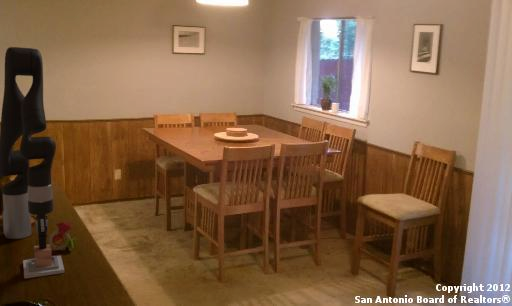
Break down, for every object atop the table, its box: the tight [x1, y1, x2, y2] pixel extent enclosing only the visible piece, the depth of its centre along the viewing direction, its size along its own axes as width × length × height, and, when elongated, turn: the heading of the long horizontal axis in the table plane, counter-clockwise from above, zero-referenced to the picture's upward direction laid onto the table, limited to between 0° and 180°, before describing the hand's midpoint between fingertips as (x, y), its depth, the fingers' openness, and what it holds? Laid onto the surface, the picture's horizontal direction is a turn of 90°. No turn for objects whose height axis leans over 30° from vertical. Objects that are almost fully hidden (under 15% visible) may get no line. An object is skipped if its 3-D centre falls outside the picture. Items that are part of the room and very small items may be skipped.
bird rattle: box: [48, 221, 78, 252], centre depth 184 cm, size 6×11×9 cm
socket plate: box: [22, 255, 65, 279], centre depth 170 cm, size 12×12×2 cm
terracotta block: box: [33, 243, 53, 268], centre depth 169 cm, size 5×5×6 cm
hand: (42, 247), depth 169 cm, fingers closed
